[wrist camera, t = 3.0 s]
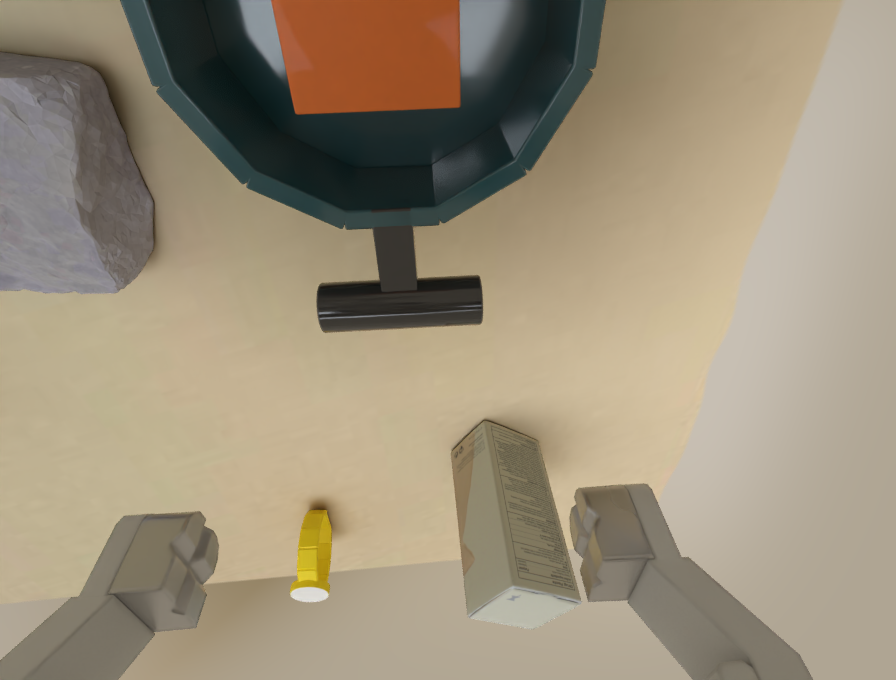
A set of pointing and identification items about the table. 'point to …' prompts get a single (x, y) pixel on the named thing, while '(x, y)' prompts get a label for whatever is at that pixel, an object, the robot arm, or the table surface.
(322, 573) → the watch
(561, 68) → the bowl
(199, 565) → the robot arm
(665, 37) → the table surface
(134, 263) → the stone block
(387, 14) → the block
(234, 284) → the table surface
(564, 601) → the box
